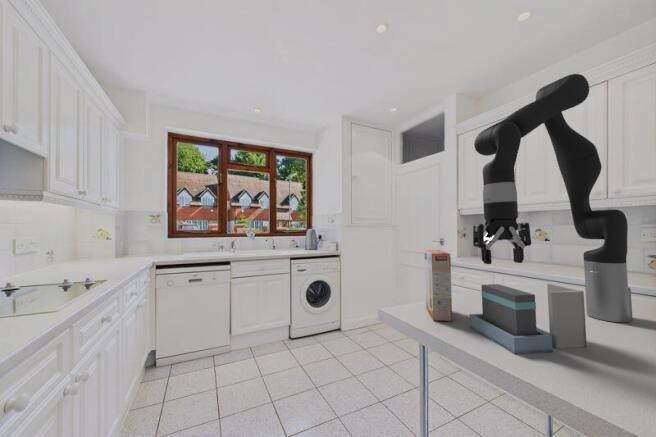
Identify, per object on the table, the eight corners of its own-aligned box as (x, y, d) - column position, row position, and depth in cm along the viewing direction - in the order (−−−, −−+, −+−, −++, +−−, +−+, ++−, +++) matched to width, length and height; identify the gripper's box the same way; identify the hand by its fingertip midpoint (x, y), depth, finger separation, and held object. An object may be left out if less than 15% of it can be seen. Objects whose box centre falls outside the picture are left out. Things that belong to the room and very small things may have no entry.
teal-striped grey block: (500, 327, 74) (498, 284, 75) (537, 346, 62) (535, 294, 63) (482, 328, 74) (481, 284, 74) (517, 347, 62) (515, 295, 62)
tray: (499, 325, 77) (499, 312, 77) (552, 351, 61) (551, 335, 61) (469, 326, 76) (469, 314, 77) (514, 354, 60) (513, 337, 60)
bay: (551, 332, 72) (549, 283, 72) (586, 346, 63) (583, 291, 63) (523, 333, 71) (521, 284, 72) (554, 348, 62) (551, 292, 63)
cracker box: (453, 322, 80) (451, 253, 81) (432, 321, 82) (430, 253, 82) (443, 308, 94) (441, 249, 95) (425, 307, 95) (423, 249, 96)
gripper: (483, 200, 66) (486, 266, 65) (537, 199, 67) (541, 264, 66) (465, 203, 73) (468, 262, 72) (514, 202, 74) (517, 260, 74)
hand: (503, 263), depth 69 cm, fingers open, 8 cm apart
